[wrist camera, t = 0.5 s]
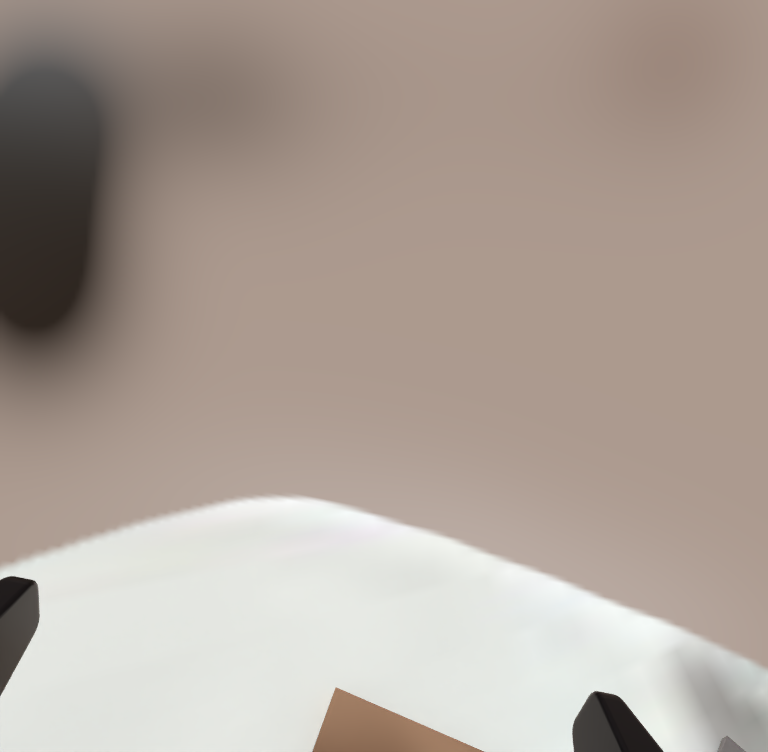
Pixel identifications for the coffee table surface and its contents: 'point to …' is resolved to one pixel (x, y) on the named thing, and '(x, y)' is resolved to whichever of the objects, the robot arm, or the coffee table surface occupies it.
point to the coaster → (377, 730)
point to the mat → (729, 746)
